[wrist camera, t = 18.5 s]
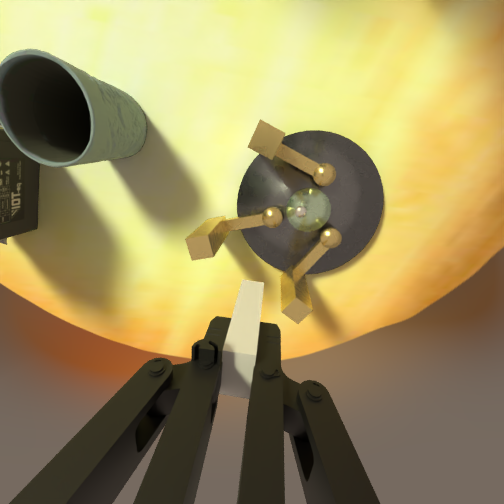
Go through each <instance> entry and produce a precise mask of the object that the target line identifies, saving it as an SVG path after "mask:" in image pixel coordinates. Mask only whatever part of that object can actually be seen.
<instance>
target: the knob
mask: <svg viewBox="0 0 504 504" xmlns="http://www.w3.org/2000/svg"><path fill="white" fill-rule="evenodd" d="M282 219H283V217H282V212H281V210H280V209H279V208H277V207H274V206H271V207H268V208H266V209H265V210H264V212H263V213H257V214H252V215H246V216H241V217H235V218H229V219H226V218H225V216H221V217H216V218H210V219H207V220H206V221H205V222H204V223H203V224H202V225H200V226H199V227H198V228H197V229H196V230H195V231H194V232H193V233H191V234H190V235H189V236H188V237H187V238H186V239H185V240H186V243H187V246H188V249H189V253H190V256H191V259H192V260H198V259H204V258H211V257H214V256H215V254H216V253H217V251H218V249H219V248H220V246H221V245H222V243H223V242H224V240H225V238H226V237H227V235H228V234H229V231H233V230H239V229H245V228H251V227H256V226H262V225H265V226H267V227H269V228H276V227H278V226H279V225H280V224H281V222H282Z"/></svg>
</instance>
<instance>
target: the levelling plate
mask: <svg viewBox="0 0 504 504" xmlns="http://www.w3.org/2000/svg"><path fill="white" fill-rule="evenodd" d="M282 144H284V145H285V146H287V147H289V148H291V149H293V150H294V151H296V152H298V153H300V154H302V155H304V156H305V157H307V158H309V159H311V160H313V161H314V162H316V163H318V164H321V163H328V164H331V165H332V166H333V167H334V168H335V170H336V177H335V180H334V181H333V182H332V183H331V184H330V185H328V186H320V185H318V184H317V183H315V182H314V180H313V177H312V175H310V174H308V173H306V172H304V171H303V170H301V169H299V168H297V167H295V166H293V165H292V164H290V163H288V162H286V161H284V160H282V159H280V158H279V157H277V156H275V157H274V159H273V160H271V159H269V158H267V157H265V156H263V155H261V154H259V155H258V156H257V157H256V158H255V159H254V161H253V162H252V163H251V165H250V166H249V168H248V169H247V171H246V173H245V175H244V177H243V180H242V182H241V185H240V189H239V193H238V200H237V214H238V217H241V216H246V215H252V214H257V213H263V212H264V210H265V209H266V208H268V207H271V206H274V207H277V208H279V209H280V210H281V212H282V217H283V219H282V222H281V224H280V225H279V226H278V227H276V228H269V227H267V226H265V225H262V226H256V227H251V228H245V229H241V231H242V233H243V236H244V238H245V240H246V241H247V243H248V244H249V246H250V247H251V248H252V250H253V251H254V252H255V253H256V254H257V255H258V256H259V257H260V258H261V259H263V260H264V261H265V262H267V263H268V264H270V265H272V266H273V267H275V268H278V269H280V270H283V271H286V270H287V269H288V268H289V267H290V266H291V265H293V266H295V265H296V264H297V263H298V262H299V261H300V260H301V259H302V258H303V256H304V255H305V254H306V253H307V252H308V251H309V250H310V249H311V248H312V247H313V246H314V245H315V244H316V243H317V242H318V241H319V240H320V233H321V231H322V230H323V229H325V228H327V227H334V228H336V229H337V230H338V231H339V232H340V234H341V236H342V240H341V243H340V244H339V245H338V246H337V247H335V248H329V249H328V250H327V251H326V252H325V253H324V254H323V255H322V256H321V257H320V258H319V259H318V260H317V261H316V263H315V264H314V265H313V266H312V267H311V268H310V269H309V270H308V271H307V272H306V273H305V274H316V273H321V272H326V271H329V270H332V269H335V268H337V267H339V266H341V265H343V264H345V263H346V262H348V261H350V260H351V259H352V258H353V257H355V256H356V255H357V254H358V253H359V252H360V251H361V250H362V249H363V248H364V247H365V246H366V245H367V243H368V242H369V241H370V239H371V238H372V236H373V235H374V233H375V231H376V229H377V226H378V224H379V221H380V218H381V214H382V209H383V186H382V182H381V178H380V175H379V173H378V170H377V168H376V166H375V164H374V163H373V161H372V159H371V158H370V157H369V156H368V154H367V153H366V152H365V151H364V150H363V149H362V148H361V147H360V146H358V145H357V144H356V143H354V142H353V141H351V140H350V139H348V138H345V137H343V136H341V135H338V134H335V133H331V132H326V131H303V132H297V133H294V134H291V135H288V136H285V137H284V139H283V141H282Z"/></svg>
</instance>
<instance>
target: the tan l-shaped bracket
mask: <svg viewBox="0 0 504 504" xmlns="http://www.w3.org/2000/svg"><path fill="white" fill-rule="evenodd" d="M284 136H285V133H284V132H282V131H280V130H278V129H277V128H275V127H273V126H271V125H269V124H268V123H266V122H264V121H262V120H260V121H259V123H258V125H257V128H256V130H255V132H254V134H253V136H252V139H251V141H250V143H249V145H248V148H250V149H252V150H254V151H256V152H258V153H259V154H261V155H263V156H265V157H267V158H269V159H271V160H273V159H274V157H275V156H277V157H279V158H280V159H282V160H284V161H286V162H288V163H290V164H292V165H293V166H295V167H297V168H299V169H301V170H303V171H304V172H306V173H308V174H310V175H312V177H313V180H314V182H315V183H317V184H318V185H320V186H328V185H330V184H331V183H332V182H333V181H334V180H335V177H336V170H335V168H334V167H333V166H332V165H331V164H328V163H321V164H318V163H316V162H314V161H313V160H311V159H309V158H307V157H305V156H304V155H302V154H300V153H298V152H296V151H294V150H293V149H291V148H289V147H287V146H285V145H284V144H282V141H283V139H284Z"/></svg>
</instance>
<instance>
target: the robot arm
mask: <svg viewBox="0 0 504 504" xmlns="http://www.w3.org/2000/svg"><path fill="white" fill-rule="evenodd" d="M263 289H264V282H256V281H249V280H242V283H241V286H240V290H239V293H238V297H237V300H236V304H235V308H234V311H233V315H232V318H226V317H219V316H216V317H215V318H214V319H213V320H212V321H211V322H210V325H209V327H208V330H207V332H206V335H205V337H204V339H202V340H199V341H197V342H196V343H194V345H193V346H192V360H191V361H190V362H187V363H184V364H177V365H172V363H171V361H169V360H168V359H165V358H154V359H152V360H149V361H148V362H147V363H145V364H144V365H143V366H142V367H141V368H140V369H139V370H138V371H137V372H136V373H135V374H134V375H133V377H132V378H130V380H129V381H128V382H127V383H126V384H125V385H124V386H123V387H122V388H121V389H120V390H119V391H118V392H117V393H116V394H115V395H114V396H113V397H112V398H111V399H110V400H109V401H108V402H107V403H106V404H105V405H104V406H103V407H102V409H100V410H99V411H98V412H97V414H96V415H95V416H94V417H93V418H92V419H91V420H90V421H89V422H88V423H87V424H86V425H85V426H84V427H83V428H82V429H81V430H80V431H79V432H78V433H77V434H76V435H75V436H74V437H73V438H72V439H71V440H70V441H69V442H68V443H67V444H66V446H64V447H63V449H62V450H61V451H60V452H59V453H58V454H57V455H56V456H55V457H54V458H53V459H52V460H51V461H50V462H49V463H48V464H47V465H46V466H45V467H44V468H43V469H42V470H41V471H40V472H39V473H38V474H37V475H36V476H35V477H34V478H33V479H32V480H31V482H30V483H29V484H28V485H27V486H26V487H25V488H24V489H23V490H22V491H21V492H20V493H19V494H18V495H17V496H16V497H15V498H14V499H13V500H12V501H11V502H10V503H9V504H112V503H113V502H114V500H115V499H116V497H117V496H118V494H119V493H120V491H121V490H122V488H123V487H124V485H125V484H126V482H127V481H128V480H129V478H130V476H131V475H132V473H133V472H134V471H135V469H136V468H137V466H138V464H139V463H140V462H141V460H142V458H143V457H144V456H145V454H146V453H147V451H148V450H149V448H150V447H151V445H152V444H153V442H154V441H155V439H156V438H157V436H158V435H159V433H160V432H161V430H162V429H163V428H164V430H163V433H162V435H161V437H160V440H159V442H158V444H157V447H156V449H155V452H154V454H153V457H152V459H151V462H150V464H149V467H148V469H147V472H146V474H145V476H144V479H143V481H142V484H141V486H140V489H139V491H138V493H137V496H136V499H135V501H134V503H133V504H194V501H195V497H196V492H197V489H198V484H199V480H200V476H201V472H202V468H203V463H204V459H205V455H206V451H207V446H208V442H209V438H210V434H211V430H212V425H213V421H214V417H215V412H216V408H217V402H218V395H219V394H223V395H230V396H235V397H241V398H247V399H249V407H248V415H247V424H246V431H245V440H244V448H243V456H242V465H241V474H240V481H239V490H238V498H237V504H285V493H284V491H285V487H284V431H286V432H288V433H289V436H290V440H291V444H292V448H293V452H294V456H295V460H296V463H297V467H298V471H299V475H300V479H301V483H302V486H303V490H304V494H305V498H306V502H307V504H380V502H379V500H378V498H377V496H376V494H375V491H374V489H373V487H372V485H371V483H370V480H369V478H368V476H367V474H366V472H365V470H364V467H363V465H362V463H361V461H360V459H359V457H358V454H357V452H356V450H355V448H354V446H353V444H352V441H351V439H350V437H349V435H348V433H347V431H346V429H345V426H344V424H343V422H342V420H341V418H340V416H339V413H338V411H337V409H336V407H335V405H334V403H333V400H332V398H331V397H330V394H329V392H328V391H327V389H326V388H325V387H324V386H323V385H322V384H321V383H319V382H316V381H312V380H307V381H304V382H302V383H301V384H299V383H297V382H295V381H293V380H291V379H289V378H288V377H287V376H286V375H285V374H284V373H283V371H282V369H281V345H280V344H281V339H280V338H281V334H280V329H279V327H278V326H277V324H271V323H264V322H260V317H261V308H262V298H263ZM219 391H220V393H219ZM164 426H165V427H164Z"/></svg>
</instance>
